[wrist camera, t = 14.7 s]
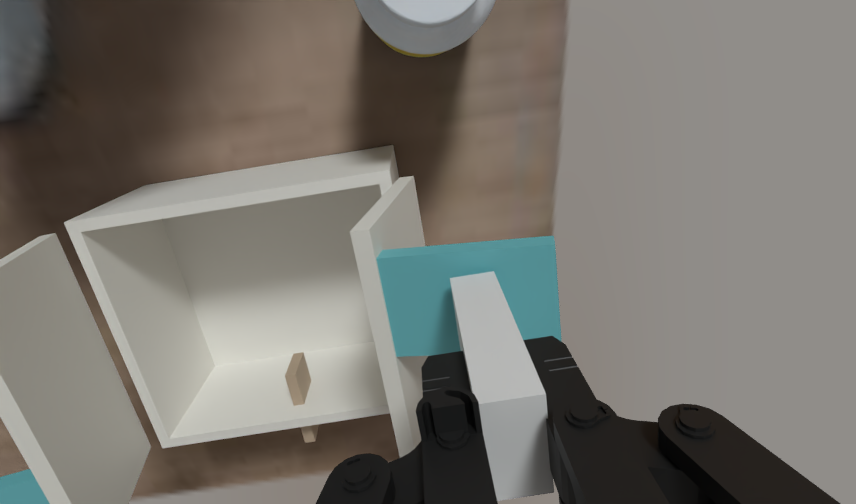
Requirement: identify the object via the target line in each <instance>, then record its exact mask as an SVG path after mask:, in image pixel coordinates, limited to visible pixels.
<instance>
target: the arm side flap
mask: <svg viewBox="0 0 856 504" xmlns="http://www.w3.org/2000/svg"><path fill="white" fill-rule="evenodd" d="M0 417H1V419H2V421H3V422H4V424H5V426H6V428H7V429H8V431H9V433H10V435H11V436H12V438H13V440H14V442H15V443H16V445H17V447H18V449H19V451H20V452H21V454H22V456H23V458H24V459H25V461H26V463H27V465H28V466H29V468H30V469H28V470H24V471H21V472H17V473H14V474H10V475H6V476H3V477H0V504H129V501H130V499H131V496H132V494H133V491H134V489H135V486H136V484H137V481H138V479H139V476H140V474H141V471H142V469H143V466H144V464H145V461H146V459H147V456H148V454H149V451H150V449H151V445H150V443H149V441H148V438H147V436H146V434H145V432H144V429H143V427H142V425H141V423H140V420H139V418H138V416H137V414H136V412H135V409H134V407H133V405H132V403H131V400H130V398H129V396H128V394H127V391H126V389H125V387H124V385H123V382H122V380H121V378H120V376H119V374H118V371H117V369H116V367H115V365H114V362H113V360H112V358H111V356H110V353H109V351H108V349H107V347H106V344H105V342H104V340H103V338H102V336H101V333H100V331H99V329H98V327H97V324H96V322H95V320H94V318H93V315H92V313H91V311H90V309H89V306H88V304H87V302H86V300H85V298H84V295H83V293H82V291H81V289H80V286H79V284H78V282H77V280H76V277H75V275H74V273H73V271H72V268H71V266H70V264H69V262H68V260H67V257H66V255H65V253H64V251H63V248H62V246H61V244H60V242H59V239H58V237H57V235H56V233H53V234H48V235H43V236H39V237H37V238H36V239H34V240H32V241H31V242H29V243H27V244H26V245H24V246H22V247H21V248H19V249H17V250H16V251H14V252H12V253H11V254H9V255H7V256H5V257H4V258H2V259H0Z"/></svg>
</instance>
